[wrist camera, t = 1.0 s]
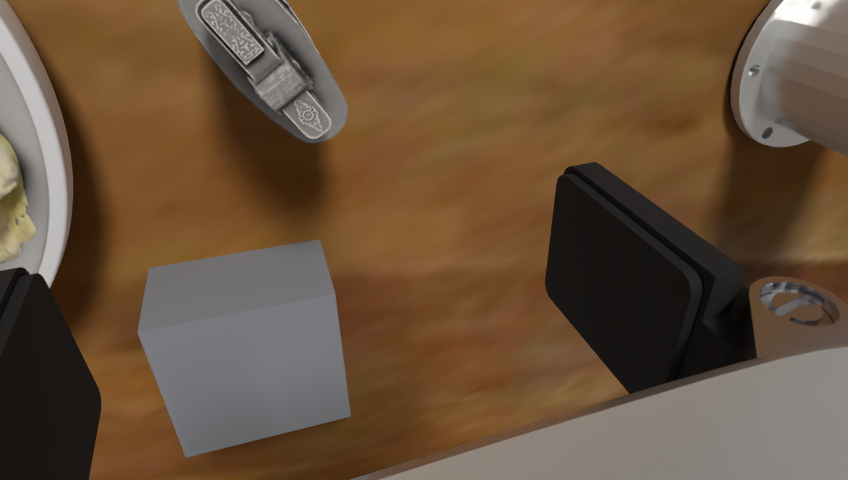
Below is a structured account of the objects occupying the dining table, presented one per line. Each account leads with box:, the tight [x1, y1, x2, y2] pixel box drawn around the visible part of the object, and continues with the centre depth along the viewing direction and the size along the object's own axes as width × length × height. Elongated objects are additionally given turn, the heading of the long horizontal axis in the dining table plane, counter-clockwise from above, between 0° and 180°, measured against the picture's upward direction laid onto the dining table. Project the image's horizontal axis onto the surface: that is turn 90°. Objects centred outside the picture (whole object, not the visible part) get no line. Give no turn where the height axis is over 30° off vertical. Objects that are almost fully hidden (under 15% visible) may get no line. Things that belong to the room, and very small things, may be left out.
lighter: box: [178, 0, 348, 143], centre depth 24 cm, size 8×3×10 cm, turn 35°
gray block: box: [137, 239, 351, 458], centre depth 35 cm, size 10×10×6 cm
